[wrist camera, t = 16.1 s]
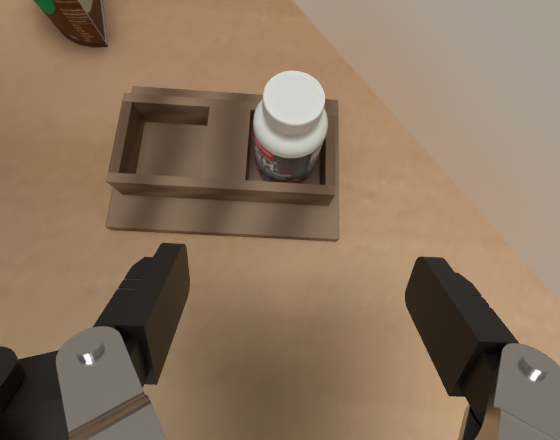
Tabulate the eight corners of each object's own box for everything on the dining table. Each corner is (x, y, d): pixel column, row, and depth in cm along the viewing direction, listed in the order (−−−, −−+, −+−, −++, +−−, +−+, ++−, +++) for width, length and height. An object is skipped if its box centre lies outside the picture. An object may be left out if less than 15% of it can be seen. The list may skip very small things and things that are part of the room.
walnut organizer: (110, 229, 28) (86, 217, 24) (136, 92, 32) (118, 63, 28) (336, 241, 29) (347, 231, 25) (335, 106, 32) (345, 79, 28)
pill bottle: (247, 179, 29) (238, 118, 19) (266, 129, 30) (267, 49, 21) (303, 198, 28) (323, 145, 19) (320, 147, 30) (346, 74, 20)
